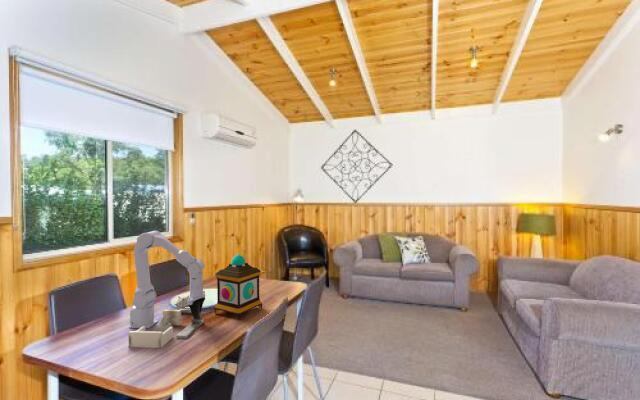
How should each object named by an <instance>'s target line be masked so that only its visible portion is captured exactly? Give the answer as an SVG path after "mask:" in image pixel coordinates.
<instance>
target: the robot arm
mask: <svg viewBox="0 0 640 400" xmlns="http://www.w3.org/2000/svg"><path fill="white" fill-rule="evenodd" d="M152 247H161V248H163V249H164V250H166V251H167V252H169V253H170V254H172V256H174V257H175V261H177V262H178V263H179V264H180V265H182V266H183V267H185V268H186V269H187V272H188V273H189V295H188V296H189V299H188V300H187V305H188V306H189V307H190V308H189V309H190V310H191V316H192V318H193V317H197V316H198V309H199V305H200V314H201V313H202V310H203V305H204V303H205V300H206V290H204V282H203V281H204V278H203V277H204V276H203V274H204V273H203V270H204V269H205V263H204V261H203V260H202V259H201V258H197V257H195V256H193V255H192V253H191V254H190V251H188V250H185V249H183V250H181V249H180V248H178V246H176V245H175V244H174V243H173V242H172V241H170V240H169V239H168V238H167V237H166V236H165V234H163V233H161V232H160V231H159V230H152V231H148V232H142V233H141V234H140V235H138V236H137V238H136V243H135V246H134V248H133V256H134V265H135V275H136V284H137V285H136V286H137V287H136V288H135V291H134V297H133V299H132V304H133V306H132V308H131V309H130V313H129V321H130V322H129V326H128V328H129V329H134V328H135V329H139V328H141V327H142V326H145V329H149V328H151V327H152V326H154V325H155V324H156V323H158V322H159V319H157V320H156V319H155V301H156V299H157V292H156V291H155V287H154V286H153V284H152V283H151V276H150V273H151V272H150V262H149V255H148V252H149V251H150V250H151V248H152Z"/></svg>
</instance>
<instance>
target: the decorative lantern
mask: <svg viewBox="0 0 640 400" xmlns="http://www.w3.org/2000/svg"><path fill="white" fill-rule="evenodd" d="M261 273H262V270H260V269H259V268H258V267H254V266H251V264H249V262H246V259H245V257H244V256H243V255H241V254H236V255H234V256H233V258H232V259H231V263H229V264H228V265H227V266H226V267H224V268H223V269H219V270H218V271H217V272H216V273H214V276H215V277H216V281H217V282H216V283H217V286H216V289H217V299H216V300H217V302H216V305H214V314H215V315H218V314H219V311H221V312H226V313H230V314H233V315H236V316H237V321H240V320H241V317H242V315H243V314H244V313H246V312H248V311H251V310H253V309H255V308H257V307H258V309H259V310H260V311H261V310H262V309H263V303H262V301H261V298H260V275H261Z"/></svg>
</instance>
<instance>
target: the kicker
mask: <svg viewBox="0 0 640 400" xmlns="http://www.w3.org/2000/svg"><path fill="white" fill-rule="evenodd" d="M182 313H184V314H186V313H191V310H190V308H189V309H180V310H178V309H164V310H162V318H163V317H165V315H166V316H167V317H168V318H169V323H171V326H181V325H182ZM191 314H192V313H191ZM202 320H203V316H201V313H200V305H199V309H198V316H197V317H193V316H192V318H191V319H190V323H191V322H199V323H200V322H201V321H202Z"/></svg>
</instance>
